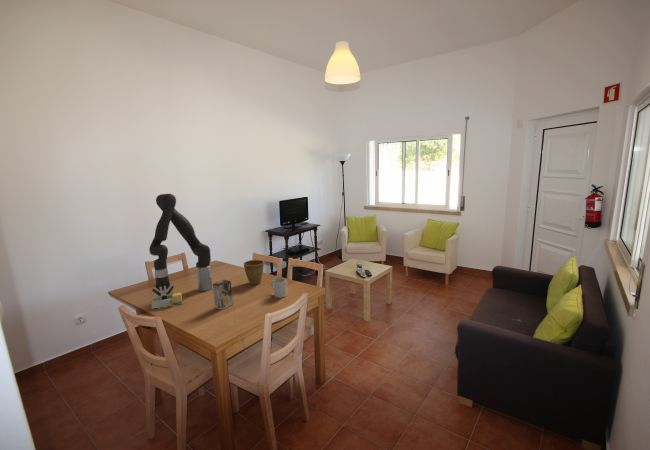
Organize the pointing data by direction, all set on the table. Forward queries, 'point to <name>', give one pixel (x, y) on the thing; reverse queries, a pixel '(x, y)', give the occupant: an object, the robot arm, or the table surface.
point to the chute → (163, 301)
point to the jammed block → (177, 297)
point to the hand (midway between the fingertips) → (164, 300)
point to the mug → (279, 287)
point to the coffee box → (222, 294)
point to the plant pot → (254, 271)
